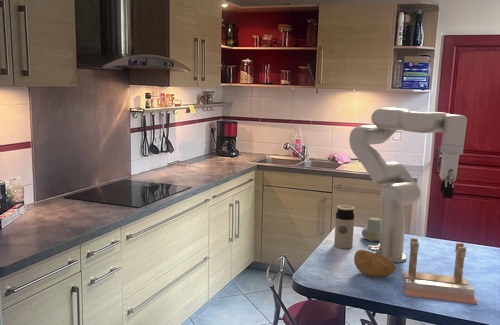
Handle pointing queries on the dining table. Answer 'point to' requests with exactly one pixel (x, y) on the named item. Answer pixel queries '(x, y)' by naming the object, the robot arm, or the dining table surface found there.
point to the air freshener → (372, 229)
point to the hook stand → (432, 277)
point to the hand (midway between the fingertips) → (446, 194)
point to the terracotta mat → (439, 296)
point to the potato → (373, 264)
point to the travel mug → (344, 227)
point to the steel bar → (440, 288)
